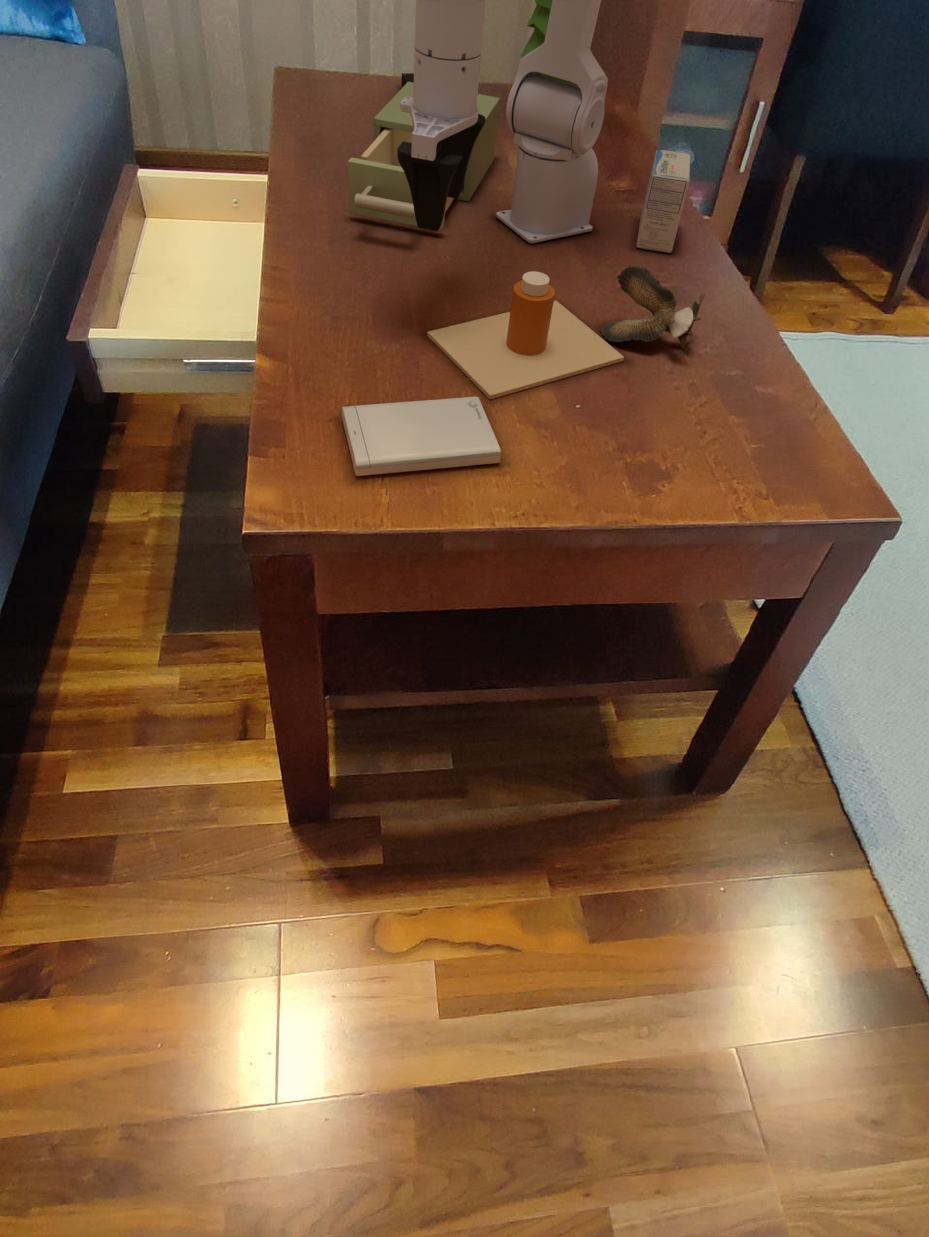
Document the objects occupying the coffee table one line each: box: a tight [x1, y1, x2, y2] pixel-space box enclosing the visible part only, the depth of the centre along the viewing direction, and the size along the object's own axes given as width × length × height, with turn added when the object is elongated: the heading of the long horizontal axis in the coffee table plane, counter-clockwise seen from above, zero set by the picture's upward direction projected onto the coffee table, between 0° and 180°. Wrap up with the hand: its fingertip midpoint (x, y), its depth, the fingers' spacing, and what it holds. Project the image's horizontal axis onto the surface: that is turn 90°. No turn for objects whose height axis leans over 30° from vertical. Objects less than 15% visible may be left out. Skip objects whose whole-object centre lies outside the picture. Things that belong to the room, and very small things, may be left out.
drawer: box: [347, 127, 464, 231], centre depth 99 cm, size 18×11×6 cm, turn 166°
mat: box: [426, 300, 625, 400], centre depth 84 cm, size 16×12×1 cm
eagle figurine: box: [599, 265, 706, 350], centre depth 85 cm, size 8×7×9 cm
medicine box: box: [635, 149, 692, 254], centre depth 100 cm, size 8×4×9 cm, turn 168°
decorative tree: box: [520, 0, 579, 87], centre depth 115 cm, size 10×9×30 cm
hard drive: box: [341, 396, 502, 477], centre depth 72 cm, size 2×8×12 cm
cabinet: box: [373, 82, 501, 202], centre depth 108 cm, size 15×13×8 cm
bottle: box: [506, 270, 556, 356], centre depth 81 cm, size 4×4×7 cm
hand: (439, 211), depth 82 cm, fingers open, 7 cm apart
